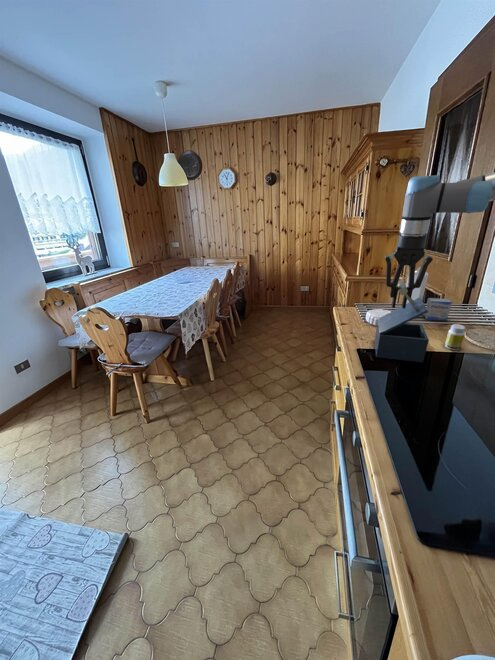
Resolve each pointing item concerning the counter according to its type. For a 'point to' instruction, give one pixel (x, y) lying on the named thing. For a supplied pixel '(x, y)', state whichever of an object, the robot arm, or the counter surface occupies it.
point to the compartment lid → (402, 312)
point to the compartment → (402, 343)
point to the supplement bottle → (455, 337)
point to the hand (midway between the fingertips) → (398, 306)
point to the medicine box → (437, 309)
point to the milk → (420, 291)
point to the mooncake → (375, 315)
